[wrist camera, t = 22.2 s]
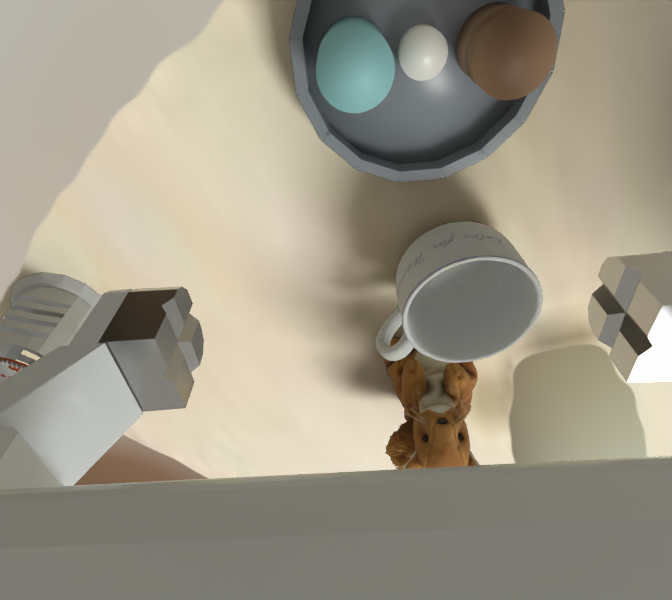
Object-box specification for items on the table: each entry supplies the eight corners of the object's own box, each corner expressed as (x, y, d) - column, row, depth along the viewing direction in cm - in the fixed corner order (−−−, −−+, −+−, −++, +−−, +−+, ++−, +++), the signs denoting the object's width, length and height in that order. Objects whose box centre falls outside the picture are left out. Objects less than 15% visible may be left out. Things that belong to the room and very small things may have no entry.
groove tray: (573, -137, 25) (594, -144, 23) (522, 158, 35) (534, 171, 33) (275, -103, 26) (270, -108, 24) (310, 176, 36) (308, 189, 34)
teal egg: (386, 12, 28) (394, 22, 24) (386, 89, 31) (394, 110, 27) (314, 18, 28) (311, 30, 24) (321, 95, 31) (319, 116, 27)
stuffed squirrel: (483, 321, 45) (528, 432, 35) (459, 411, 54) (489, 522, 43) (383, 321, 45) (398, 432, 35) (375, 411, 54) (386, 522, 43)
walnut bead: (532, -2, 28) (565, 6, 24) (520, 77, 31) (548, 96, 27) (458, 5, 28) (479, 15, 24) (453, 84, 31) (471, 104, 27)
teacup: (490, 183, 36) (523, 233, 30) (526, 280, 42) (560, 338, 36) (339, 255, 40) (340, 312, 34) (390, 334, 46) (399, 395, 40)
